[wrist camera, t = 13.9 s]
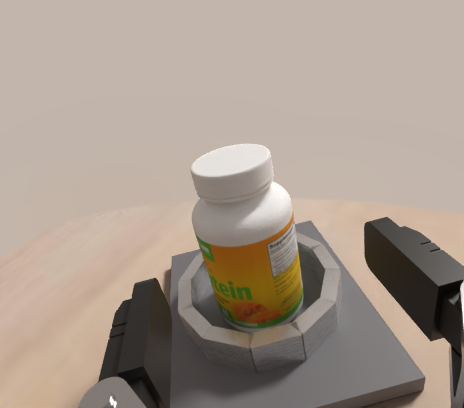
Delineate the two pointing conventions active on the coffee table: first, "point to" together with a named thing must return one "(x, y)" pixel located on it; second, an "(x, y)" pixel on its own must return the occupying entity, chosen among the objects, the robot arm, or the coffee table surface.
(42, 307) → the coffee table surface
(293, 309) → the supplement bottle
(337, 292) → the stone collar
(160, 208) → the coffee table surface
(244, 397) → the base plate
